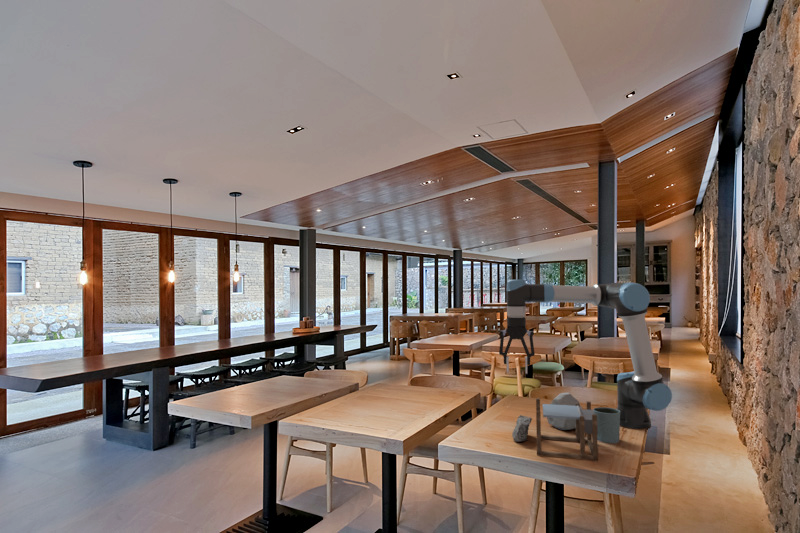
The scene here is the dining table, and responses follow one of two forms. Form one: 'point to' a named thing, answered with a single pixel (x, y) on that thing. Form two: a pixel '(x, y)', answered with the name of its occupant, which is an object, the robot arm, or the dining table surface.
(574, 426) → the stone
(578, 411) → the grey hammer-shaped piece
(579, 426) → the brown wooden frame
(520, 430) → the rock
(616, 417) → the grey-green cylindrical pot
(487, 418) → the dining table surface
